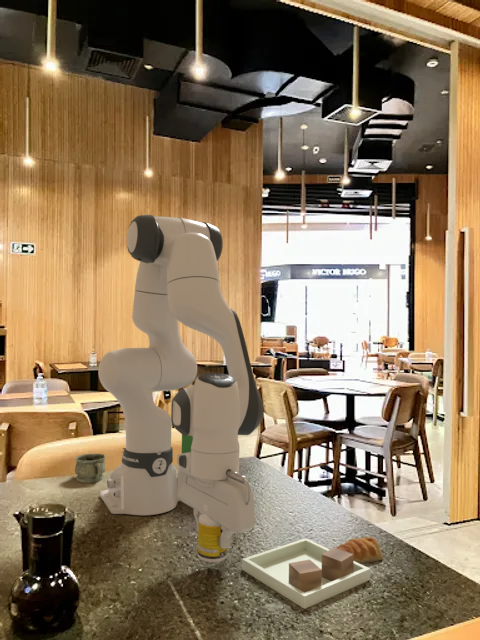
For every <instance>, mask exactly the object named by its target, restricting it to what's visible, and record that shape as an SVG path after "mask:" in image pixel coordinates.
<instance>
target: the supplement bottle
mask: <svg viewBox="0 0 480 640" xmlns="http://www.w3.org/2000/svg"><path fill="white" fill-rule="evenodd" d="M203 511H204V512H205V513H207V512H208V506H207V505H206V504H204V506H203ZM222 532H223V530H222V529H221V524H220V523H218V522H216V521H215V520H213V519H211V518H210V517H208V516H207V515H205V514H203V513H202V514H201V515H200V516H199V528H198V532H197V538H198V539H197V557H198V559H199V560H201V561H203V562H206V563H207V562H208V563H219V562H221V561H224V560H225V559H226V558H227V556H228V548H225V549H223V548H221V547H220V546H218V536H221V534H222Z"/></svg>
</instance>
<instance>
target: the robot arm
mask: <svg viewBox="0 0 480 640" xmlns="http://www.w3.org/2000/svg"><path fill="white" fill-rule="evenodd" d="M223 243H224V242H223V236H222V233H221V231H220V229H219V228H218V226H215V225H212V224H211V223H207V222H205V221H204V222H200V221H196V220H193V219H189V218H183V217H174V216H173V217H172V216H171V217H170V216H154V215H152V214H141V215H137V216H135V218H133V219H132V220H131V221H130V224H129V226H128V229H127V233H126V247H127V252H128V253H129V255H130V256H131V257H132V258H133V259H134V260H136V261H138V262H139V264H138V268H137V273H136V278H135V283H134V284H135V285H134V286H135V287H134V294H133V303H132V304H133V305H132V316H131V317H132V322H133V324H134V326H135V327H136V328H137V329H138V330H140V331H141V332H143V333H144V334H146V335H147V337H148V340H149V341H148V342H149V345H148V347H125V348H120V349H115V350H112V351H108V352H106V353H105V354H104V355H103V356H102V358H101V360H100V362H99V365H98V370H97V371H98V372H97V373H98V379H99V382H100V383H101V385H102V387H103V388H104V389H105V390H106V391H107V392H109V393H110V394H111V395H112V396H113V397H114V398H115V399H116V400H117V402H118V403H119V405H120V407H121V410H122V412H123V416H124V426H125V447H123V448H122V450H123V451H122V454H121V455H122V458H121V463H120V464H119V465H118V466H117V467H116V469H114V470H113V471H112V472H111V473H110V476H109V478H108V479H107V481H106V487H107V489H105V490H104V489H103V490H102V491H100V493H99V496H100V498H101V500H102V501H103V502H104V503H103V504H105V506H106V508H107V509H108V511H109V512H110V513H111V514H114V515H124V514H125V515H131V516H132V515H133V516H153V515H159V514H163V513H167V512H170V511H172V510H173V509H175V508H176V507H177V505H178V502H182V503H183V504H185V505H187V506H189V507H191V508H192V509H193V516H194V519H195V522H196V532H197V533H198V528H199V516H200V515H201V514H202V513H203V514H205V515H207V516H208V517H210V518H211V519H213V520H215V521H216V522H218V523H220V524H221V529H222V530H223V532H222V534H221V536H218V546H220V547H221V548H223V549H225V548H227V549H228V548H230V546H231V538H232V536H233V534H234V533H236V534H242V533H246V532H249V531H251V530H253V528H254V527H255V524H256V512H255V511H256V510H255V498H254V493H253V489H252V485H251V484H250V483H249V480H248V479H247V477H246V476H245V475H243V474H239V473H240V441H239V436H249V435H251V434H252V433H254V432H255V430H256V429H257V428H258V427H259V426H260V424H261V423H262V422H263V419H264V411H265V410H264V403H263V399H262V397H261V394H260V391H259V388H258V386H257V383H256V380H255V376H254V371H253V368H252V364H251V361H250V360H251V359H250V356H249V352H248V347H247V344H246V343H247V342H246V340H245V335H244V331H243V328H242V324H241V320H240V318H239V316H238V314H237V312H236V311H235V310H233V309H232V308H230V306H229V305H228V303H227V301H226V300H225V298H224V295H223V292H222V289H221V280H220V272H219V271H220V270H219V266H218V261H219V260H220V258H221V255H222V252H223V248H224V244H223ZM179 322H180V323H181V324H182V325H184V326H186V327H188V328H190V329H192V330H194V331H198V332H200V333H202V334H204V335H206V336H209V337H210V338H212V339H213V340H215V341H216V342H217V343H218V344H219V346H220V348H222V350H223V355H224V360H225V364H226V368H227V371H228V372H227V373H228V374H225V373H222V372H221V373H220V372H207V373H206V372H205V373H202V374H199V375H198V376H197V374H198V363H197V360H196V356H195V355H194V354H193V353H192V352H191V351H190V350H189V349H188V348H187V346H186V344H184V342H183V339H182V336H181V333H180V328H179V326H180V325H179ZM193 382H194V384H192V383H193ZM191 384H192V385H191ZM188 386H189V387H188ZM179 389H180V390H179ZM176 390H179V391H178V392H177V393H176V394H175V395H174V397H173V398H172V400H171V416H170V414H169V413H168V411H167V410H165V409H164V408H162V407H161V406H158V405H156V403H155V401H154V396H153V395H154V394H153V393H155V392H165V391H166V392H169V391H176ZM172 427H173V428H174V429H175V430H177V432H179V433H180V434H181V435H182V434H183V435H187V436H193V441H192V445H191V452H187V453H182V452H181V453H179V454H177V457H176V464H177V466H179V467H178V469H177V468H176V467H175V466H174V465H173V461H174V452H173V449H174V448H173V447H172ZM204 504H206V505H207V506H208V512H207V513H205V512H204V511H203V506H204Z"/></svg>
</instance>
